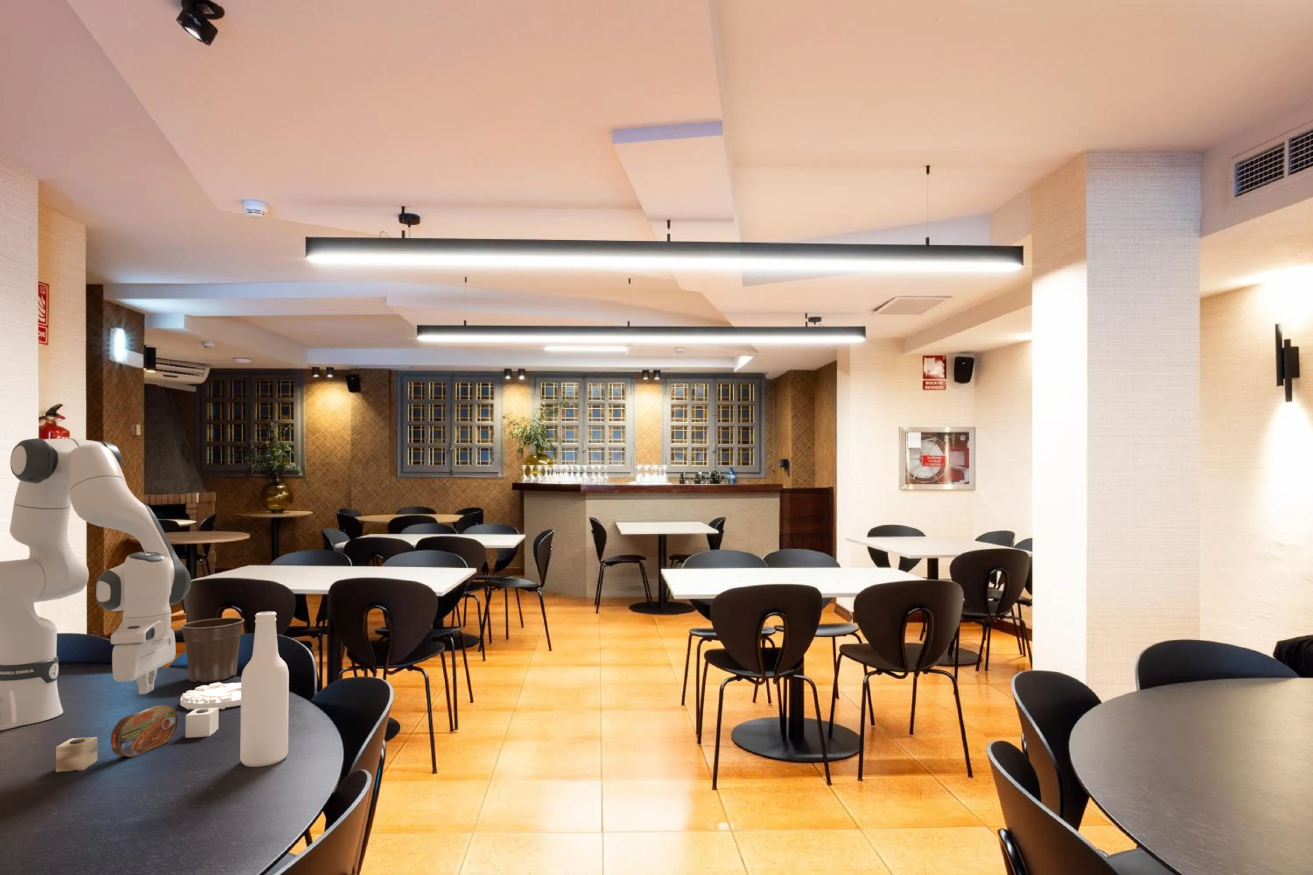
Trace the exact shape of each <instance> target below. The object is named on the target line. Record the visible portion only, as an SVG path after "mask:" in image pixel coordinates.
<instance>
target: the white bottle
mask: <svg viewBox="0 0 1313 875" xmlns="http://www.w3.org/2000/svg"><path fill="white" fill-rule="evenodd" d="M254 617H255V620H254V623H255V626H254V627H255V628H254V638H253V648H252V655H251V658H250V660H249V661H248V663H247V664H246V665H245V667H244V668H243V670H242V673H241V677H240V683H241V705H240V743H239V744H240V751H239V753H240V756H239V758H240V762H241V763H242V764H243V765H244V766H245V767H249V768H259V767H260V768H261V767H265V766H271V765H274V764H277V763H281V762H282V761H283V760H285V758H286V757H287V755H288V753H289V709H290V708H289V706H290V705H289V704H290V703H289V699H290V697H289V696H290V695H289V694H290V692H289V691H290V690H289V689H290V688H289V687H290V686H289V685H290V684H289V683H290V679H289V678H290V674H289V673H290V672H289V668H288V664H287V663H286V661H285V660H283V658H282V657H280V654H279V649H278V648H279V646H278V637H277V636H278V635H277V623H276V622H277V618H276V617H277V612H276V611H260V612H257V613H256V614H254Z"/></svg>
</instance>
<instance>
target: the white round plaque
mask: <svg viewBox="0 0 1313 875" xmlns="http://www.w3.org/2000/svg"><path fill="white" fill-rule="evenodd" d="M180 706H181V707H183V708H185V709H186V710H188V711H190V710H191V711H192V710H195V709H203V708H219V709H222V710H225V709H227V708H231V707H237V706H241V682H230V683H222V682H220V681H217V682H213V683H210V684H209V685H206V684H205V685H200V686H198V687H195V689H193V690H192V689H190V690H187V691H185V693H184V692H183V693H182V695H181V696H180ZM226 707H227V708H226Z"/></svg>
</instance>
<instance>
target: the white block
mask: <svg viewBox="0 0 1313 875" xmlns="http://www.w3.org/2000/svg"><path fill="white" fill-rule="evenodd" d="M219 711H220V710H219V708H203V709H192V710H191V711H190V712H188V713H187V714H186V715H185V738H187V739H188V738H204V737H210V736H212V735H213V734H214V733H215V732H217V731H218V730H219ZM216 730H217V731H216ZM211 734H212V735H211Z"/></svg>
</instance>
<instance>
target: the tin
mask: <svg viewBox="0 0 1313 875" xmlns="http://www.w3.org/2000/svg"><path fill="white" fill-rule="evenodd" d="M178 718H179V717H178V713H177V711H176V709H175V708H174V707H173V706H172V705H170V704H169V705H168V704H163V705H154V706H151V707H148V708H146V709H144V710H142V711H139V712H138V711H137V712H136V713H133V714H130V715H127V716H125V717H123V718H121V719H120V720H119V721H118V722H117V723H116V725H114V727H113V729H112V731H111V734H110V735H111V736H110V744H111V745H110V746H111V750H112V752H113V753H114V754H115V755H117V756H118V757H123V758H124V757H125V758H126V757H127V758H134V757H137V756H139V755H142V754H144V753H146V752H149V751H151V750H153V749H156V748H158V747H160V746H163V745H165V744H167V743H168V742H169V741H170V740H172V738H173V737H174V735H175V733H176V731H177V727H178V722H179V719H178Z"/></svg>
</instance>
